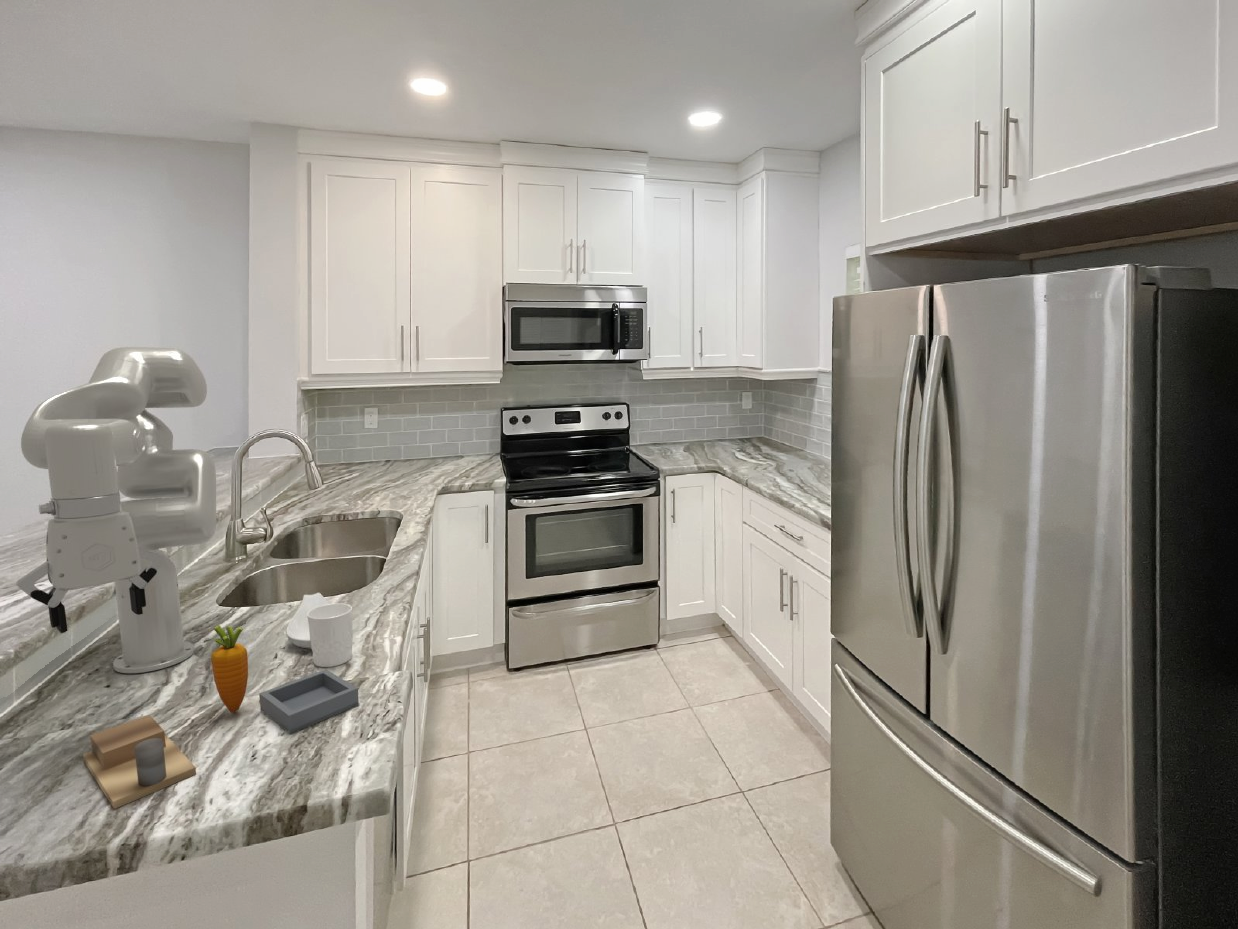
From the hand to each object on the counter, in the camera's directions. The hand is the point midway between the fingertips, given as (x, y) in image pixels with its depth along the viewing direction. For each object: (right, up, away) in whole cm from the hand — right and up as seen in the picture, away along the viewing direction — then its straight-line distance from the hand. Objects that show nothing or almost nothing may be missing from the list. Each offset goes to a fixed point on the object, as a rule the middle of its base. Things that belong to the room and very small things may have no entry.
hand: (101, 620), depth 92 cm
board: (+10, -19, -6) cm, 23 cm away
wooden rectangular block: (+7, -18, -3) cm, 19 cm away
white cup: (+22, -15, +28) cm, 38 cm away
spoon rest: (+12, -13, +41) cm, 44 cm away
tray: (+26, -17, +10) cm, 33 cm away
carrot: (+15, -17, +8) cm, 24 cm away
